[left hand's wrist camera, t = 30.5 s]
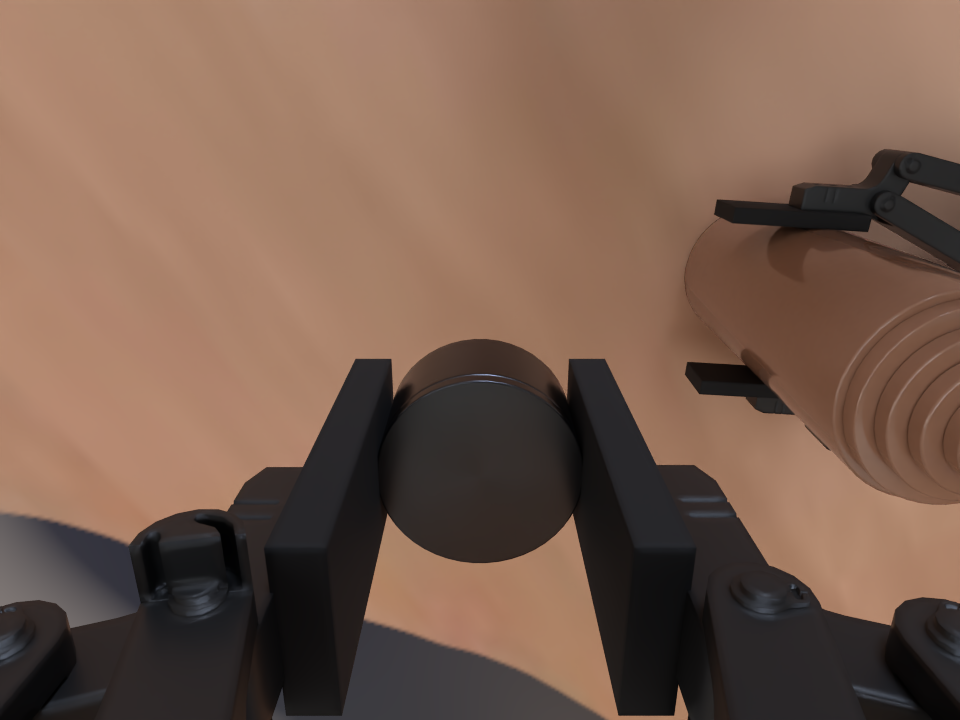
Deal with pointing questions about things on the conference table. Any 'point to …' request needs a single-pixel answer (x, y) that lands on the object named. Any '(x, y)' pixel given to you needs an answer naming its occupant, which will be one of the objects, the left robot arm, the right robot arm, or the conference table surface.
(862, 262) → the bottle
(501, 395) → the cap
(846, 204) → the right robot arm
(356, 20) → the conference table surface
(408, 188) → the conference table surface
